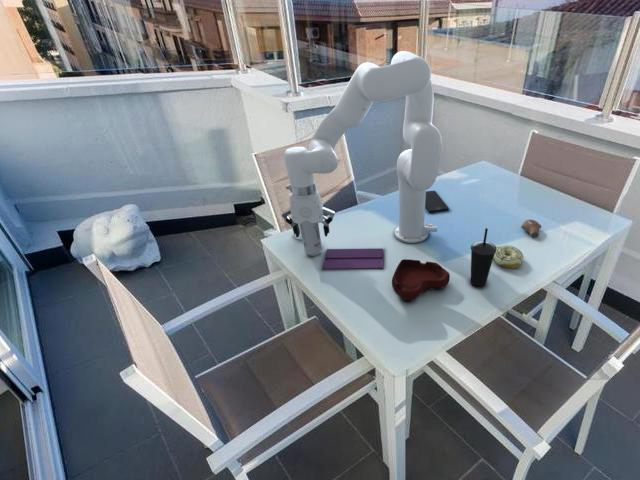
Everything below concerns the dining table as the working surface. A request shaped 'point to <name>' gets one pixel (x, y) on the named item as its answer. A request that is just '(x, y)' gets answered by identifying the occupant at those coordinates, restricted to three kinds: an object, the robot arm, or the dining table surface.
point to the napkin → (353, 259)
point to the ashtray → (418, 278)
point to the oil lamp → (531, 227)
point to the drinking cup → (481, 261)
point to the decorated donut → (508, 256)
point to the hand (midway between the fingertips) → (312, 234)
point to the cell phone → (434, 202)
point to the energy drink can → (311, 238)
